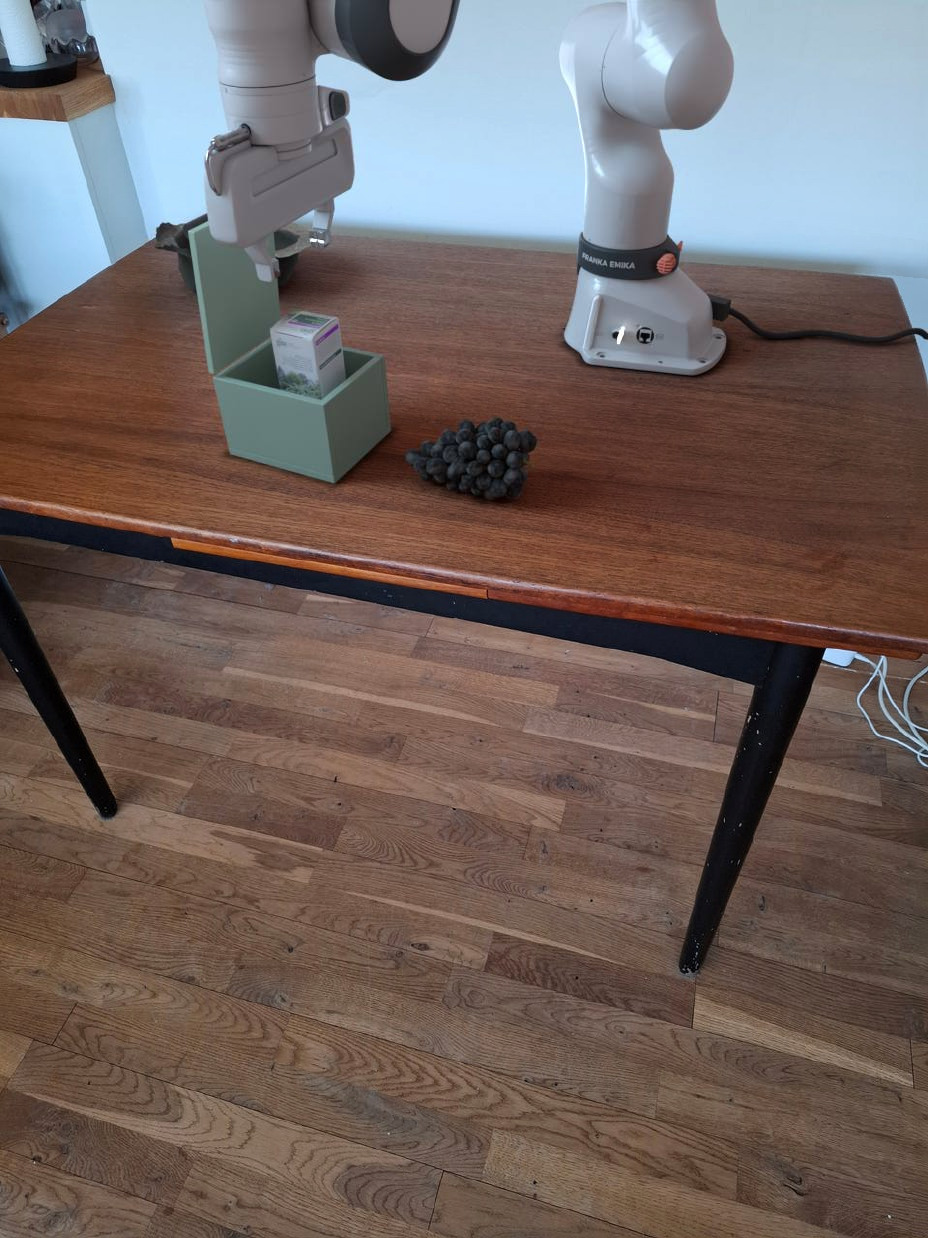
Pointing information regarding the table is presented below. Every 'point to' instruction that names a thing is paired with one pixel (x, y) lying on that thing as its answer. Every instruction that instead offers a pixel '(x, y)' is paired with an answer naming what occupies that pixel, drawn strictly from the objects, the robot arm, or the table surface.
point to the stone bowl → (285, 242)
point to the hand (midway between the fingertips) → (296, 261)
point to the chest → (304, 415)
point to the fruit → (477, 458)
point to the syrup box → (308, 353)
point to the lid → (230, 296)
